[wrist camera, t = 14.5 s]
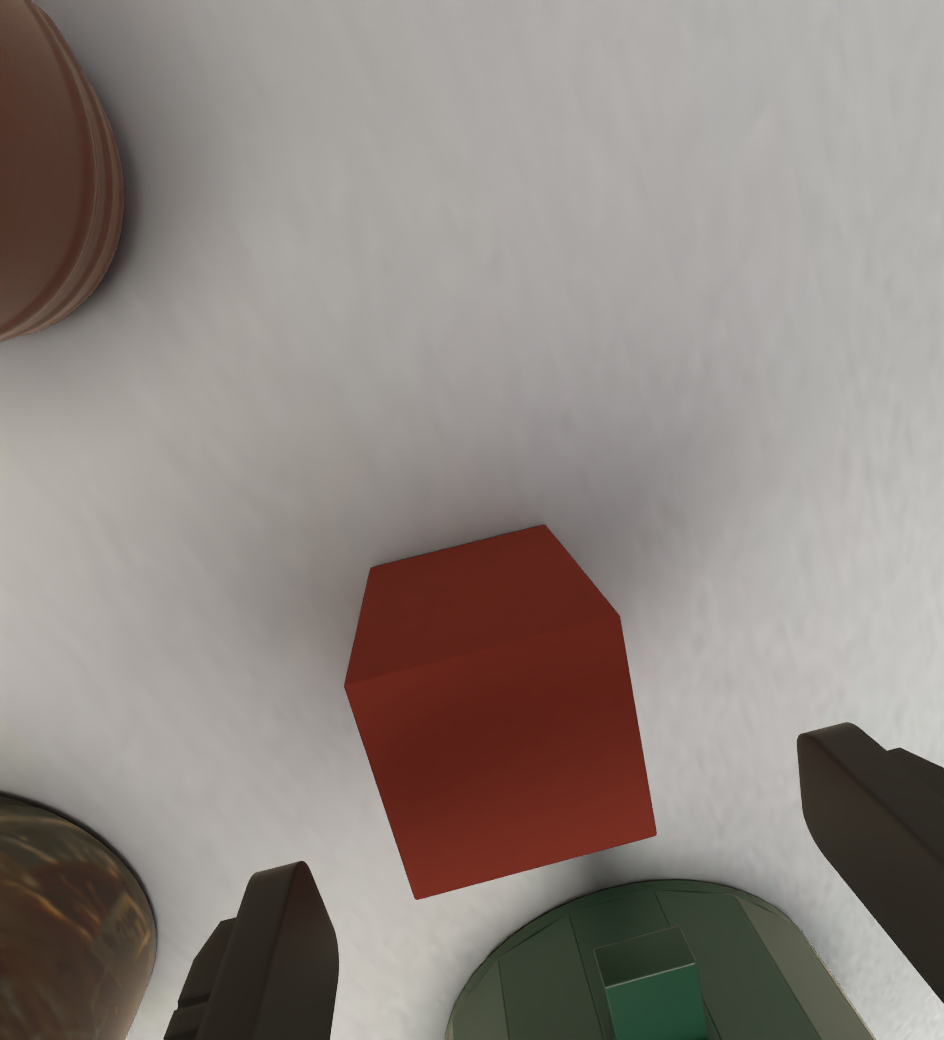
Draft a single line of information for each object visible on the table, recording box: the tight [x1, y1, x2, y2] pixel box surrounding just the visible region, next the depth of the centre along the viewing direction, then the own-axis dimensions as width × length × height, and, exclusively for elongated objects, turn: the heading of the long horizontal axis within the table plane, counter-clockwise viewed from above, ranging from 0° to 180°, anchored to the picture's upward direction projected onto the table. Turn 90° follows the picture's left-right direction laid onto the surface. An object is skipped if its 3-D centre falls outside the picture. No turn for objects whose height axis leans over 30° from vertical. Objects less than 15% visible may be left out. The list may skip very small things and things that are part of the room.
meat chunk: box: [344, 525, 657, 900], centre depth 13 cm, size 5×5×6 cm
